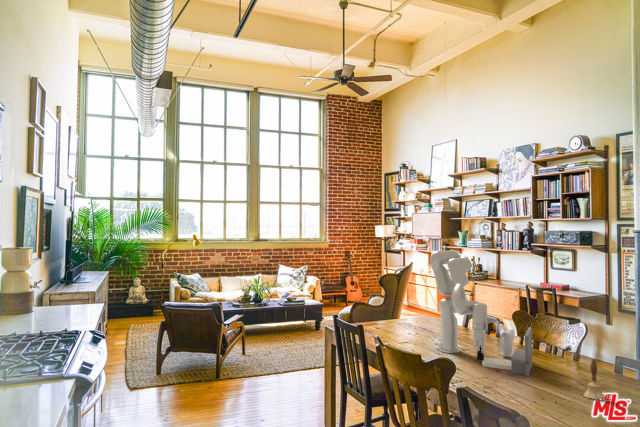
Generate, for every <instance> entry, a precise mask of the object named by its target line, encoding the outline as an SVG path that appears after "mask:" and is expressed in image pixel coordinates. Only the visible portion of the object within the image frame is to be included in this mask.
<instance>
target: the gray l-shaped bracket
mask: <svg viewBox="0 0 640 427" xmlns="http://www.w3.org/2000/svg"><path fill="white" fill-rule="evenodd" d="M510 361H511V366H512V370H511V373H512V374H518V375H524V376H525V377H527V378H528V377H530V373H531V370H532V368H533V328H532V327H531V326H528V328H527V330H526V332H525V334H524V349H522V348H515V349H514V351H513V352H512V355H511V357H510Z"/></svg>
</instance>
